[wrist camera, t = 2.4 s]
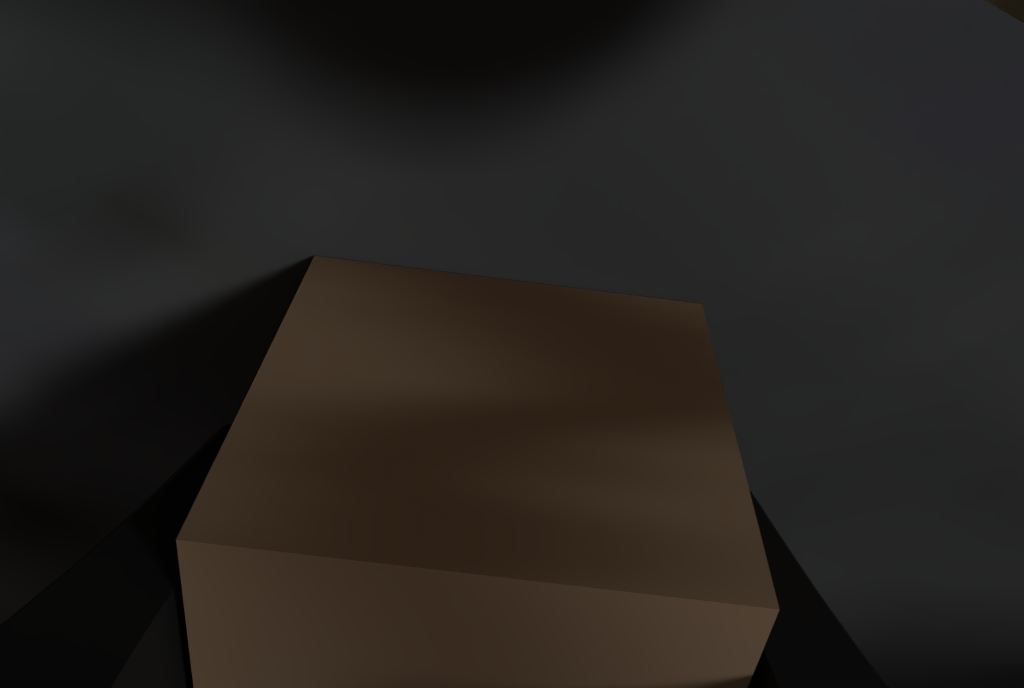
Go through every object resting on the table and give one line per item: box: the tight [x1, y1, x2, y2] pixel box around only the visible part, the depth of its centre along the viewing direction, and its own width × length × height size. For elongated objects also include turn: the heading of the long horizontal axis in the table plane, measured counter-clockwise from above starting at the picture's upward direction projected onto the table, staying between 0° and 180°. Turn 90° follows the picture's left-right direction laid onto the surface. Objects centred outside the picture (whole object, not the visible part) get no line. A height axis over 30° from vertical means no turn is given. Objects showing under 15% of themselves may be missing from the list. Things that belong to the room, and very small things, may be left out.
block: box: [176, 256, 780, 688], centre depth 10 cm, size 4×4×4 cm
